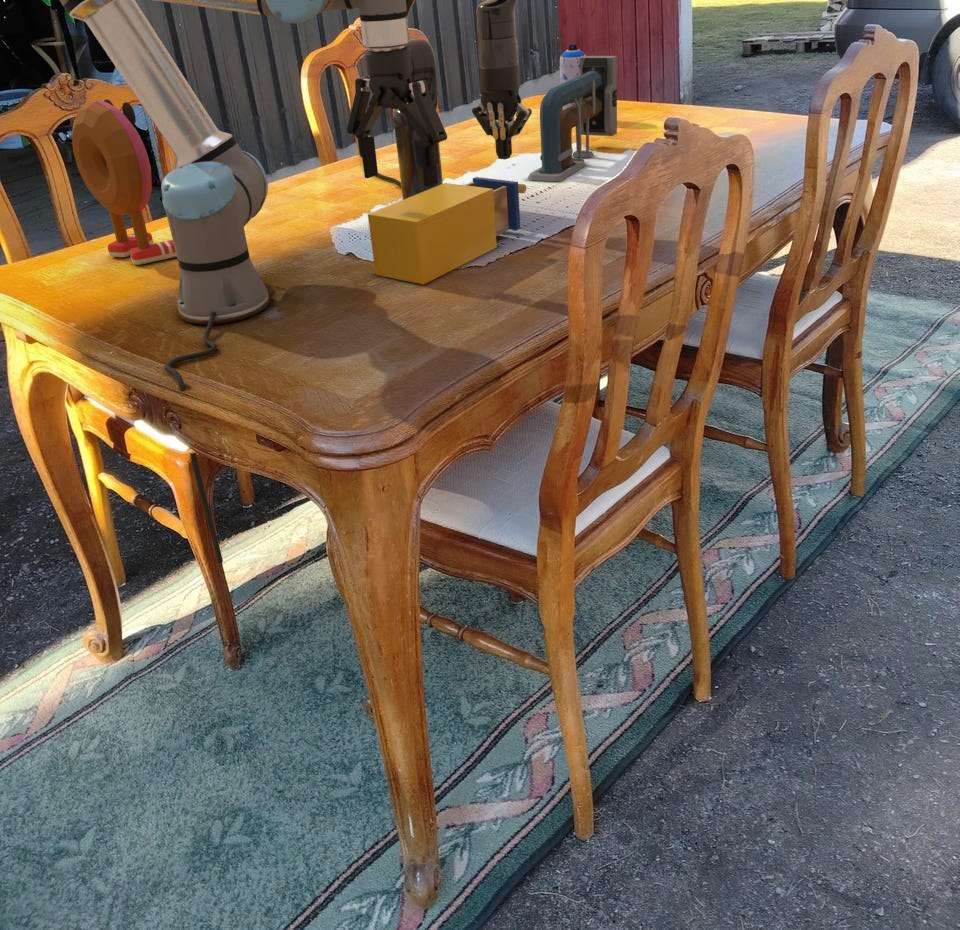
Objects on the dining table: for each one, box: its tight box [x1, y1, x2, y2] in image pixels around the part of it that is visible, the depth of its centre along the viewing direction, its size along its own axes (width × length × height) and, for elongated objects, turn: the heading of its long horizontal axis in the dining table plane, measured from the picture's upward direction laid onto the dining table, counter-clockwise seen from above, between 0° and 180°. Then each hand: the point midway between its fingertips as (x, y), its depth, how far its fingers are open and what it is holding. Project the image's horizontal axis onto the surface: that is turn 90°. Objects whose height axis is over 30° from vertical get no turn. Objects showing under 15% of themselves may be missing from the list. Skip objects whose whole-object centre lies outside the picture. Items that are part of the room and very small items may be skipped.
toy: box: [71, 98, 177, 266], centre depth 188 cm, size 21×10×30 cm, turn 47°
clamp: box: [527, 55, 618, 182], centre depth 230 cm, size 35×9×21 cm, turn 151°
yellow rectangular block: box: [367, 182, 498, 285], centre depth 177 cm, size 22×11×11 cm, turn 143°
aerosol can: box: [559, 43, 587, 110], centre depth 273 cm, size 8×8×20 cm
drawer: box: [465, 176, 527, 237], centre depth 185 cm, size 27×10×9 cm, turn 143°
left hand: (400, 180), depth 166 cm, fingers open, 13 cm apart
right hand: (504, 158), depth 188 cm, fingers closed
